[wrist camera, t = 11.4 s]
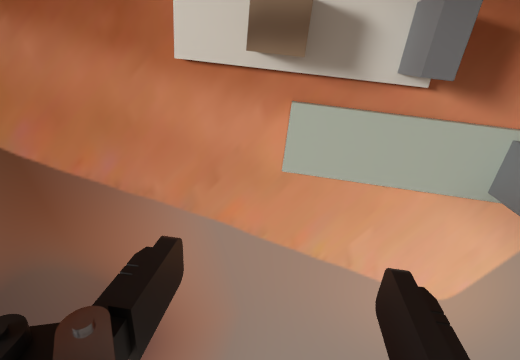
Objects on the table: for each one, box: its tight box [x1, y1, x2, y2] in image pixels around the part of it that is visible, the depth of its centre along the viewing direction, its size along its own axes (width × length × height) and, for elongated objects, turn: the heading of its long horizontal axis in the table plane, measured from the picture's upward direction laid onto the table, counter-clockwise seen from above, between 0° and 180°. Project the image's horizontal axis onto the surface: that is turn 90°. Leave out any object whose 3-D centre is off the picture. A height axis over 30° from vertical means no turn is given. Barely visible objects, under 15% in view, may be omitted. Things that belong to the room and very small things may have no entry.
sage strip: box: [282, 101, 520, 216], centre depth 29 cm, size 8×26×7 cm, turn 85°
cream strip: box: [173, 0, 483, 88], centre depth 25 cm, size 8×26×7 cm, turn 85°
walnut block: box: [246, 0, 313, 57], centre depth 25 cm, size 5×5×5 cm
